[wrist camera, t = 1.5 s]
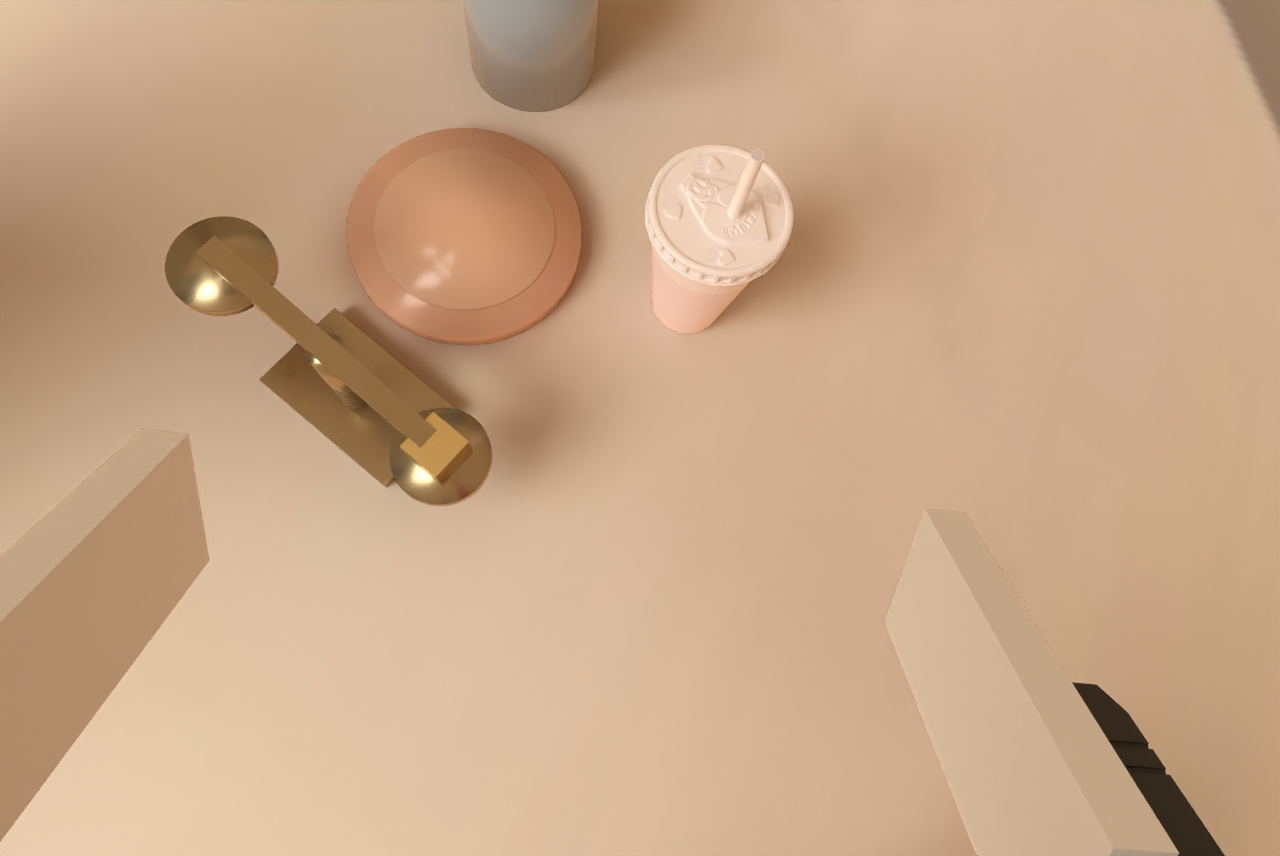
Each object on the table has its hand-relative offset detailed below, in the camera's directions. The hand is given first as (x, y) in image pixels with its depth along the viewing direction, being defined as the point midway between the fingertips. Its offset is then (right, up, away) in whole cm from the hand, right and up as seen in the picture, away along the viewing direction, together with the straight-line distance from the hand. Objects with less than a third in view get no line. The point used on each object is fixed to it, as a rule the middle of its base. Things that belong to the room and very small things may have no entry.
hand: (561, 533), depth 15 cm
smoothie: (+4, +9, +29) cm, 30 cm away
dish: (-8, +12, +28) cm, 32 cm away
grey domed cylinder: (-5, +23, +32) cm, 39 cm away
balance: (-12, +3, +25) cm, 29 cm away
